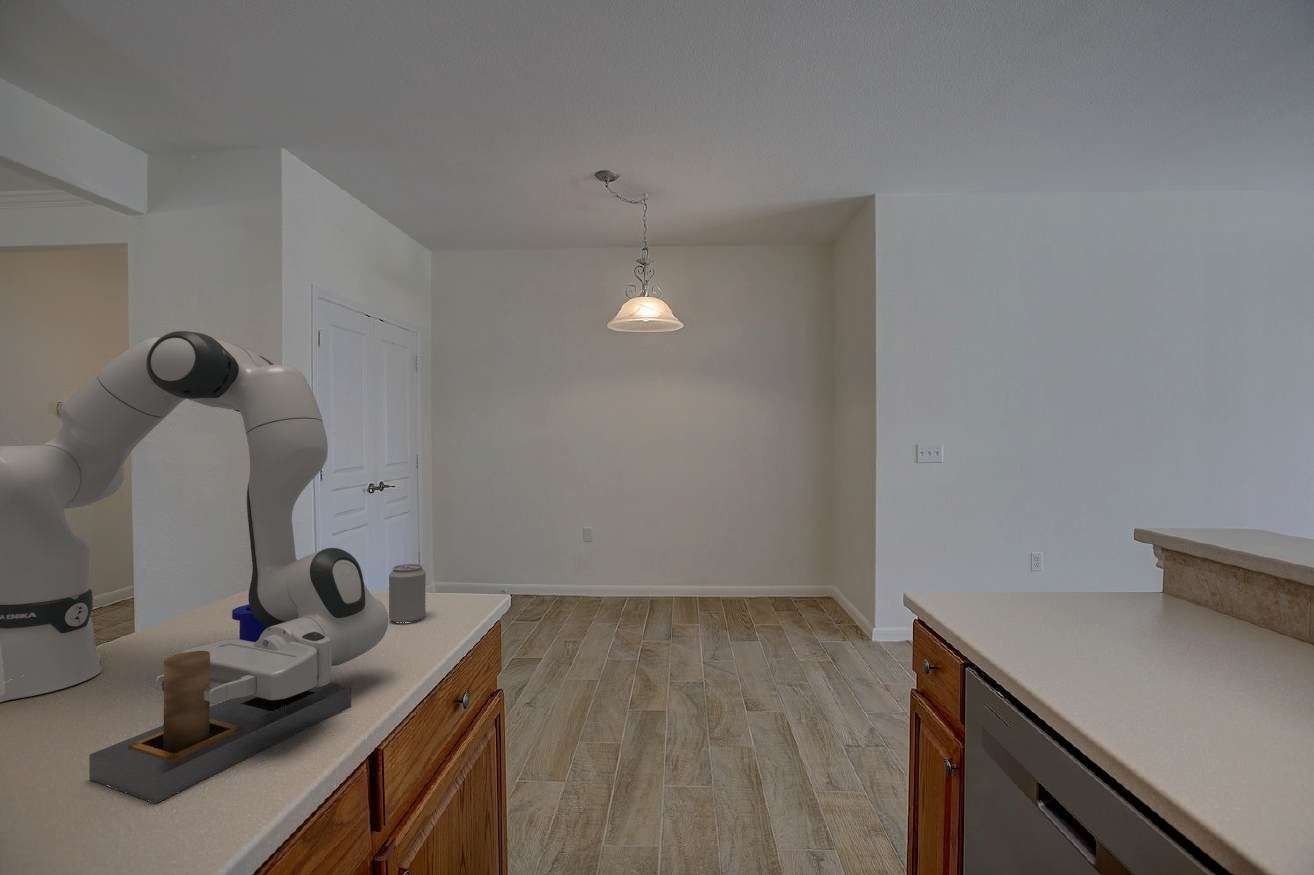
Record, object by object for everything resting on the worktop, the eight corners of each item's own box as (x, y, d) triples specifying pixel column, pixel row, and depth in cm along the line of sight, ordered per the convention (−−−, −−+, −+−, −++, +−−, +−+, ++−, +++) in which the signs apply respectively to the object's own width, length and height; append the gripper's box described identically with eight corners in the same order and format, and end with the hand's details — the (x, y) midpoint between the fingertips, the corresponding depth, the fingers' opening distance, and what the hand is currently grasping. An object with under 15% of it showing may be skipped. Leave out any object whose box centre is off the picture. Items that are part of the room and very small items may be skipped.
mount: (272, 639, 119) (272, 596, 119) (305, 642, 117) (305, 598, 117) (201, 668, 104) (202, 618, 104) (238, 671, 102) (238, 621, 102)
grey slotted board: (89, 779, 70) (89, 752, 70) (292, 693, 93) (292, 672, 93) (155, 803, 65) (155, 774, 65) (350, 706, 89) (351, 685, 89)
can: (405, 626, 126) (406, 570, 126) (381, 622, 130) (381, 567, 130) (432, 617, 133) (433, 564, 133) (408, 613, 136) (409, 561, 136)
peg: (153, 771, 72) (153, 663, 72) (183, 751, 76) (184, 650, 76) (189, 771, 71) (190, 664, 71) (218, 752, 76) (218, 650, 76)
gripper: (239, 623, 90) (131, 654, 77) (338, 640, 82) (237, 677, 70) (239, 664, 90) (131, 702, 77) (338, 685, 82) (237, 731, 70)
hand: (182, 690), depth 73 cm, fingers open, 8 cm apart
